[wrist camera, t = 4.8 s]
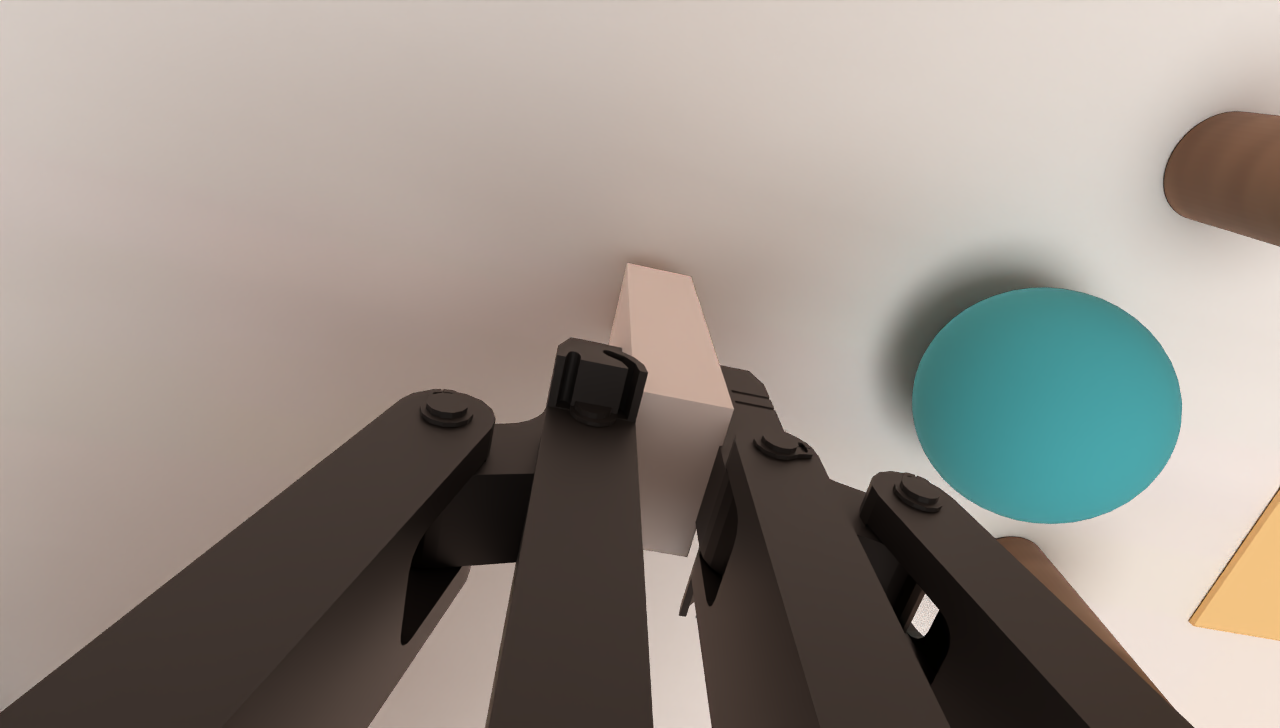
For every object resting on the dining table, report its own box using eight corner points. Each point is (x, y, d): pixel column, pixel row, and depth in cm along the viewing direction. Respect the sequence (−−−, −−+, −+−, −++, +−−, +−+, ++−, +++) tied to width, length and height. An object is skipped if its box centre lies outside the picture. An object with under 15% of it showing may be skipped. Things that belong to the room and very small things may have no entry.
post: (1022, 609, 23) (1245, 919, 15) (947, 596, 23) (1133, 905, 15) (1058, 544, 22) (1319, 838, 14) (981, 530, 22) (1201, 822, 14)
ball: (1135, 612, 15) (873, 514, 17) (1088, 486, 20) (888, 419, 21) (1282, 380, 13) (963, 289, 14) (1189, 301, 18) (958, 239, 19)
